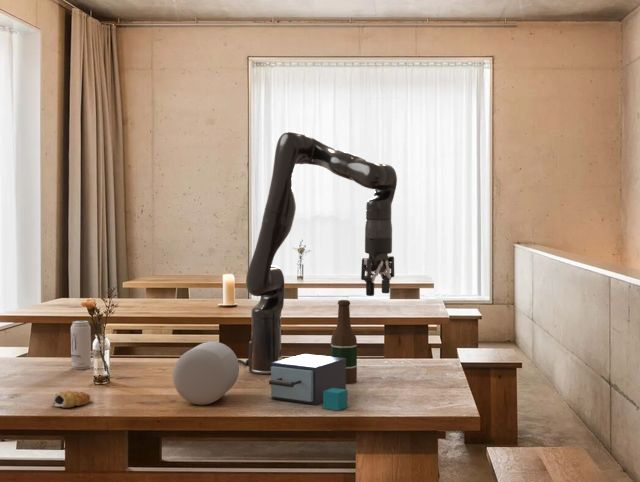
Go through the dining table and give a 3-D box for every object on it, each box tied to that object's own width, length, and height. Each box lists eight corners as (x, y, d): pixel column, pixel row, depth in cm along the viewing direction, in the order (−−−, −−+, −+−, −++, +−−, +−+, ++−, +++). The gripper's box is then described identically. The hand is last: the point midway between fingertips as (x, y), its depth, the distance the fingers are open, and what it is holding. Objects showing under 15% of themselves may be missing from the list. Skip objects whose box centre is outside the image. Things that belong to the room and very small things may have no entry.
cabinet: (315, 404, 214) (315, 367, 213) (271, 398, 221) (271, 362, 221) (345, 393, 228) (346, 358, 227) (303, 388, 235) (303, 353, 234)
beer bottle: (354, 384, 240) (354, 302, 238) (328, 383, 241) (328, 301, 239) (358, 379, 247) (359, 299, 246) (333, 378, 249) (333, 298, 247)
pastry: (79, 399, 220) (79, 385, 220) (96, 403, 216) (96, 388, 216) (50, 406, 212) (49, 391, 212) (66, 410, 208) (66, 395, 208)
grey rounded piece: (148, 385, 215) (190, 356, 238) (185, 428, 214) (223, 394, 238) (194, 341, 208) (233, 316, 232) (233, 386, 208) (267, 355, 231)
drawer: (300, 405, 209) (300, 374, 209) (260, 399, 216) (259, 369, 215) (339, 391, 226) (339, 362, 225) (301, 386, 232) (300, 358, 232)
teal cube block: (323, 408, 210) (323, 391, 210) (332, 405, 214) (332, 387, 214) (338, 410, 208) (338, 393, 207) (347, 407, 212) (347, 389, 211)
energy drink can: (67, 368, 264) (66, 321, 263) (84, 365, 269) (83, 319, 268) (78, 370, 260) (77, 323, 259) (94, 368, 265) (94, 321, 264)
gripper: (379, 235, 237) (379, 291, 238) (353, 236, 225) (353, 295, 226) (402, 236, 233) (402, 293, 234) (377, 237, 221) (376, 297, 222)
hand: (377, 294), depth 230 cm, fingers open, 8 cm apart
